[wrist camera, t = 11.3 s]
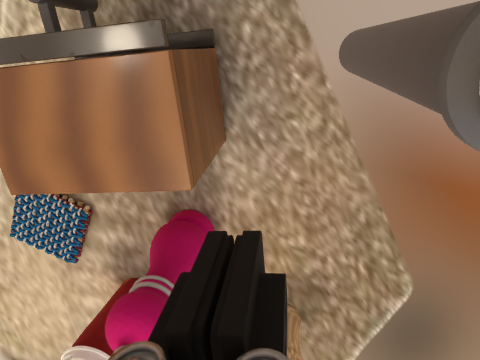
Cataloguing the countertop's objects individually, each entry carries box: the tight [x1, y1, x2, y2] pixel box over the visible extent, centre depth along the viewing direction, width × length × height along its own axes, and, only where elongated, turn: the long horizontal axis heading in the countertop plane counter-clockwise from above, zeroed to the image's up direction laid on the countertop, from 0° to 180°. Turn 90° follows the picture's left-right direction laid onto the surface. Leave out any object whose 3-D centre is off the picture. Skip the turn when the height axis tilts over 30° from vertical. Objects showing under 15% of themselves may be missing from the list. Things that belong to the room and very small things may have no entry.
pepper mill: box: [105, 210, 214, 354], centre depth 33 cm, size 7×7×20 cm
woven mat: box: [10, 194, 93, 263], centre depth 44 cm, size 10×11×2 cm
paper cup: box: [61, 278, 139, 360], centre depth 42 cm, size 8×8×14 cm
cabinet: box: [0, 19, 226, 195], centre depth 30 cm, size 16×12×14 cm
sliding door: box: [29, 0, 132, 57], centre depth 28 cm, size 8×5×13 cm, turn 96°
